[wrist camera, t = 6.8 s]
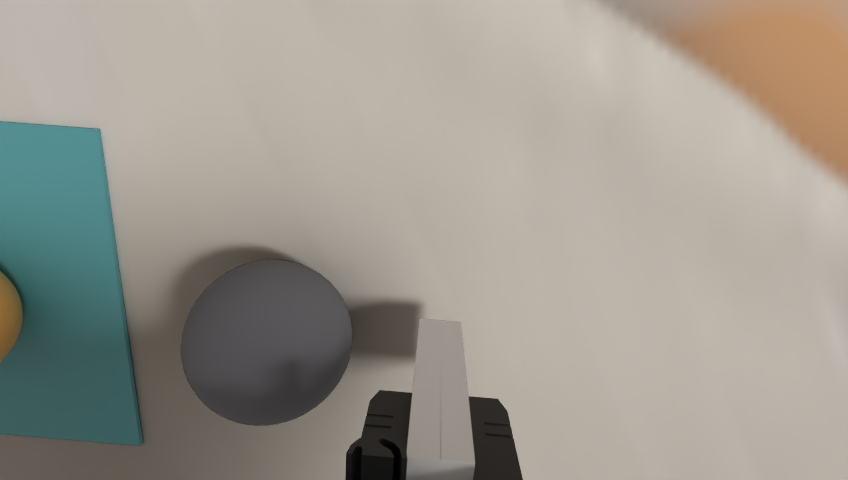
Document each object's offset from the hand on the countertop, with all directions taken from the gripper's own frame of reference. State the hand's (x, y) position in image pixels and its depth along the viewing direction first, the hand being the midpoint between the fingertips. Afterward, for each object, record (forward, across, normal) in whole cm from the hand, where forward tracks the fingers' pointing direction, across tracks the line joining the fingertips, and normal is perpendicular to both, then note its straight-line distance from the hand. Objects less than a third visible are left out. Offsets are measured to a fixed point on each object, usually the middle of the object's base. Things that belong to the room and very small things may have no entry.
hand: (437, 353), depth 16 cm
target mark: (+2, +20, 0) cm, 20 cm away
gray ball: (-1, +6, 0) cm, 6 cm away
